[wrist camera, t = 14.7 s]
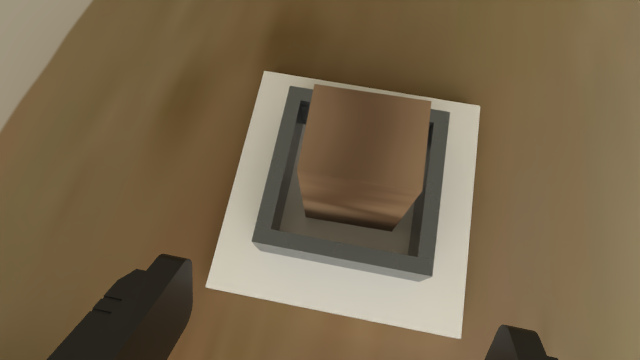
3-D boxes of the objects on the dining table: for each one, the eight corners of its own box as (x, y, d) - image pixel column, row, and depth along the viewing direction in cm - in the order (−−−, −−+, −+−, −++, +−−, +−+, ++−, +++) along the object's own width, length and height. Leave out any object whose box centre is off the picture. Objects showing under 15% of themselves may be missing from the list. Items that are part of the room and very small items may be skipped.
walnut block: (399, 166, 25) (431, 101, 18) (391, 231, 24) (422, 190, 16) (317, 153, 26) (314, 84, 18) (305, 217, 24) (296, 170, 17)
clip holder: (472, 116, 28) (499, 80, 24) (452, 337, 24) (480, 341, 19) (267, 83, 29) (257, 41, 25) (212, 289, 25) (188, 282, 20)
